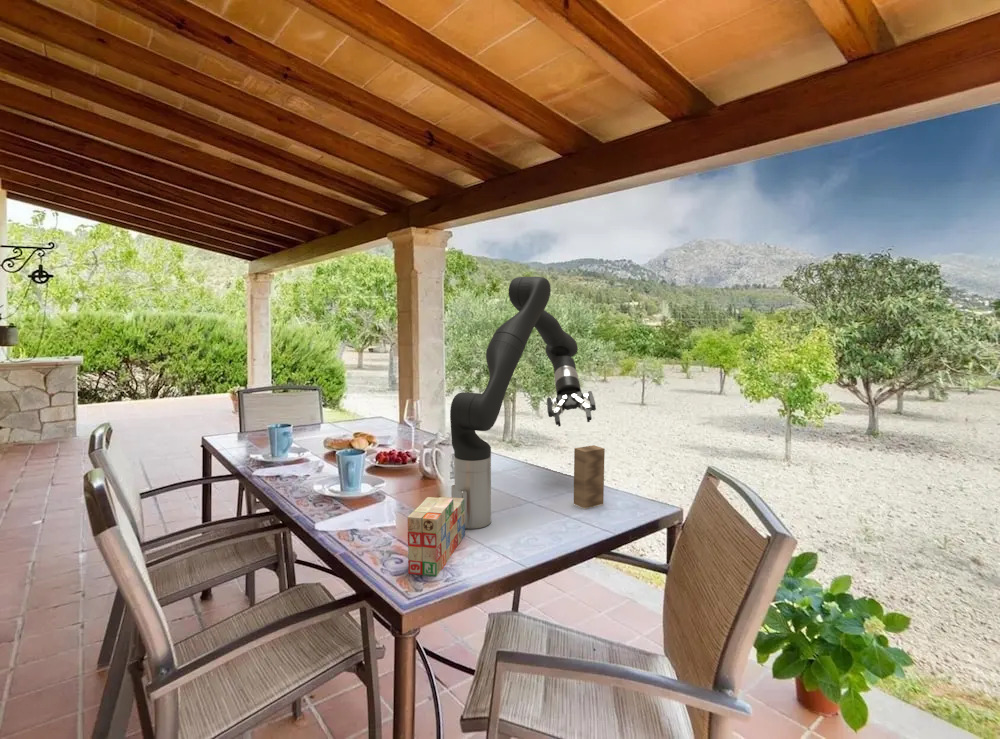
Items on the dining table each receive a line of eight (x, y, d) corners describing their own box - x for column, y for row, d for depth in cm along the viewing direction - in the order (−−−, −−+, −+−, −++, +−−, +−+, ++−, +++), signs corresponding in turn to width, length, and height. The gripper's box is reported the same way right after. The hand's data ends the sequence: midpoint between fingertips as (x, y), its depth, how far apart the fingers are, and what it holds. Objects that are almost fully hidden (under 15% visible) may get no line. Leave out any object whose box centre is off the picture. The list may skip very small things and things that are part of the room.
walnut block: (583, 509, 148) (585, 451, 146) (573, 504, 151) (574, 448, 150) (603, 504, 151) (604, 448, 150) (592, 500, 155) (593, 445, 153)
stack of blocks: (440, 533, 131) (440, 484, 130) (465, 535, 130) (465, 485, 129) (407, 574, 110) (407, 516, 109) (437, 577, 109) (436, 518, 108)
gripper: (543, 378, 167) (547, 417, 156) (589, 371, 166) (597, 410, 154) (546, 395, 173) (551, 434, 161) (590, 388, 171) (599, 427, 159)
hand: (573, 422), depth 157 cm, fingers open, 8 cm apart
